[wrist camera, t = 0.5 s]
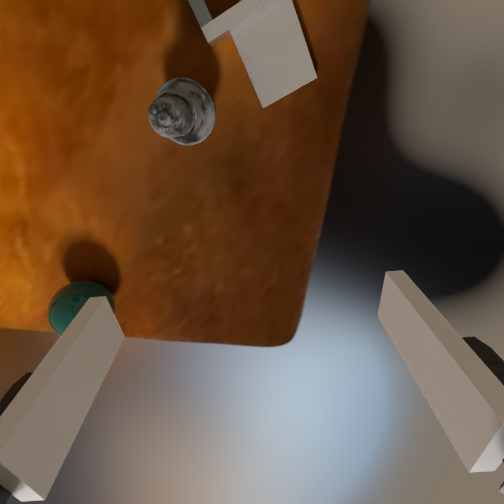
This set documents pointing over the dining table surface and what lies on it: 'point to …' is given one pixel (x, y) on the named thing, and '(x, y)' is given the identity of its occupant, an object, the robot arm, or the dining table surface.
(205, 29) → the flanged square frame
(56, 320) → the sphere
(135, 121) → the dining table surface
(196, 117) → the grey chess piece
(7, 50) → the dining table surface
